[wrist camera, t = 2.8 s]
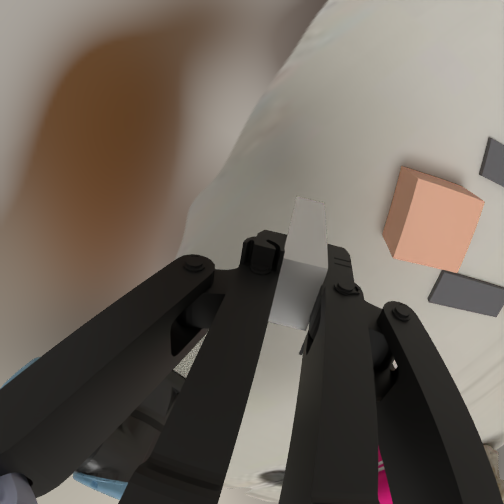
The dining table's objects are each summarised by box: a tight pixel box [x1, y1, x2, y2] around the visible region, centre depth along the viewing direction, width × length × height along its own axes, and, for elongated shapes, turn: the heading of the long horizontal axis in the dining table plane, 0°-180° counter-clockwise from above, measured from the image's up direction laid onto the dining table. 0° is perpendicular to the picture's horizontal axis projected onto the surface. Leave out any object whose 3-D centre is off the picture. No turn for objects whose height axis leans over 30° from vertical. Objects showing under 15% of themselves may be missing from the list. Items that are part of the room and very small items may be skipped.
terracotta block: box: [382, 166, 485, 273], centre depth 23 cm, size 7×7×5 cm
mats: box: [428, 138, 504, 317], centre depth 24 cm, size 12×19×1 cm, turn 171°
